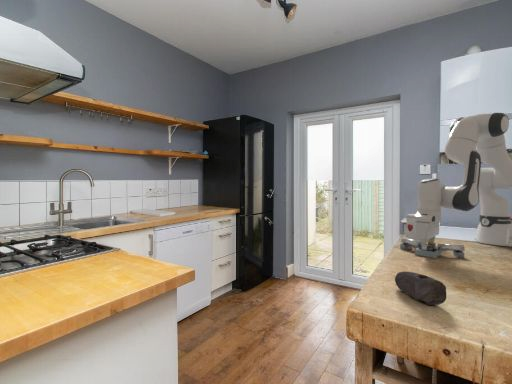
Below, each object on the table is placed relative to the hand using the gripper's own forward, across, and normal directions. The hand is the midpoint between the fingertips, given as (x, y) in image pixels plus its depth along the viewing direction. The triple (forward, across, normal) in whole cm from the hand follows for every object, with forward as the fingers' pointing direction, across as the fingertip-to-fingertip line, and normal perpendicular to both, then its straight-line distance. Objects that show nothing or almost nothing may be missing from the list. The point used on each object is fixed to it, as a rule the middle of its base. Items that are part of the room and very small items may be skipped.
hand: (428, 247), depth 120 cm
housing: (+3, 0, 0) cm, 3 cm away
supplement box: (+3, -20, -9) cm, 22 cm away
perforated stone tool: (+3, +53, +11) cm, 54 cm away
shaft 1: (+3, -4, -8) cm, 9 cm away
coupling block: (+2, 0, 0) cm, 2 cm away
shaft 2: (+3, -4, +7) cm, 9 cm away
